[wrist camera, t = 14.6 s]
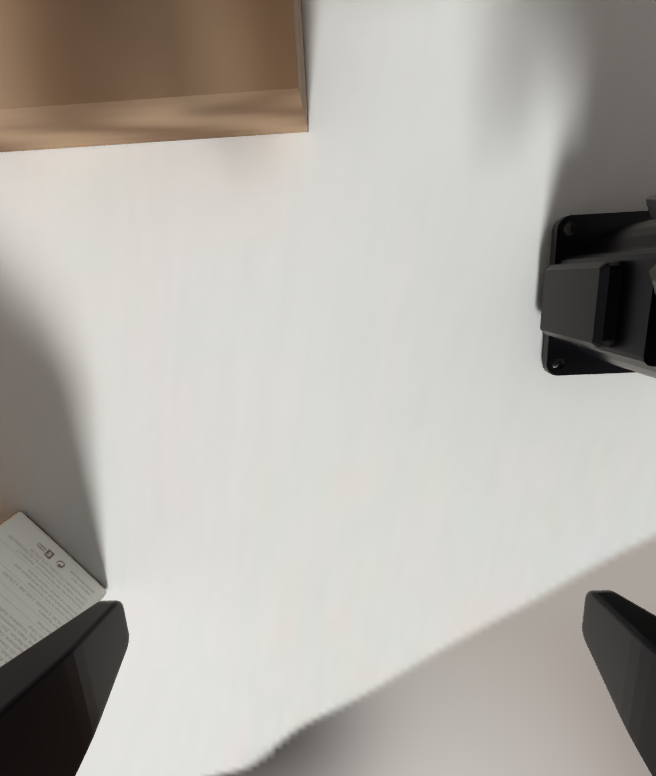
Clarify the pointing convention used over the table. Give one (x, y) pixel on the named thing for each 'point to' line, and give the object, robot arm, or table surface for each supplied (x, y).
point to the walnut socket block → (148, 71)
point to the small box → (37, 586)
